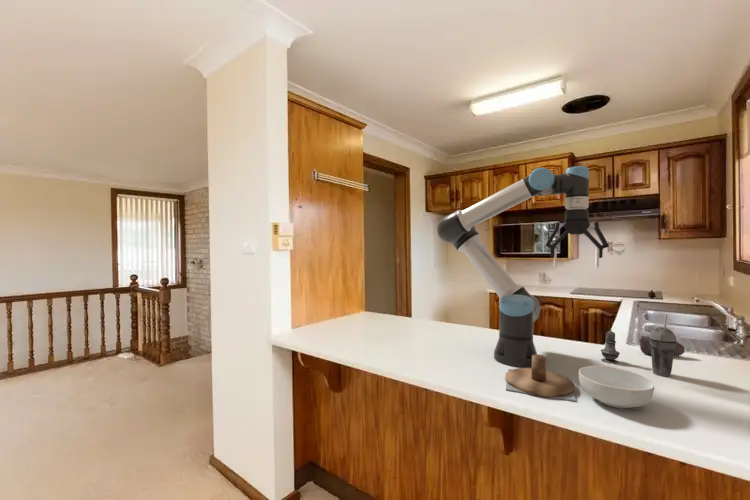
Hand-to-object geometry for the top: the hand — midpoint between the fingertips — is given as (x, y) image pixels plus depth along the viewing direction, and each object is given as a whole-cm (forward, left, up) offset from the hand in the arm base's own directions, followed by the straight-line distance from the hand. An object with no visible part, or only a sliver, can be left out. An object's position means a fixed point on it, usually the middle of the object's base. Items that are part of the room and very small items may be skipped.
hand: (575, 266), depth 129 cm
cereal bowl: (+5, -36, -35) cm, 50 cm away
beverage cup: (+25, -5, -35) cm, 43 cm away
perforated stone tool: (+32, +20, -35) cm, 52 cm away
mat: (-13, -31, -35) cm, 48 cm away
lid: (-13, -31, -34) cm, 48 cm away
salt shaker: (+12, +3, -35) cm, 37 cm away
